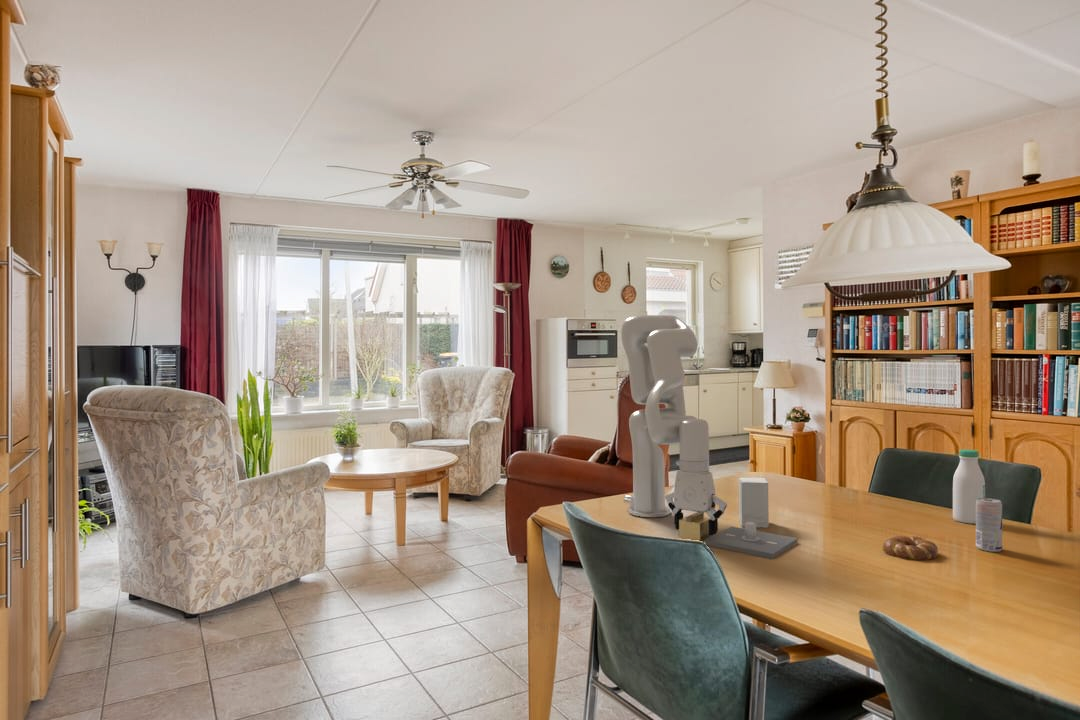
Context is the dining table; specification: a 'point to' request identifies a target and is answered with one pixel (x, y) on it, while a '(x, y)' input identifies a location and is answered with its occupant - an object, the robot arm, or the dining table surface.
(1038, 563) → the dining table surface
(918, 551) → the pretzel
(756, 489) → the supplement box
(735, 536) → the post base
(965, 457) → the milk bottle
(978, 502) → the energy drink
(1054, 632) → the dining table surface
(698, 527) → the tan boxy piece
